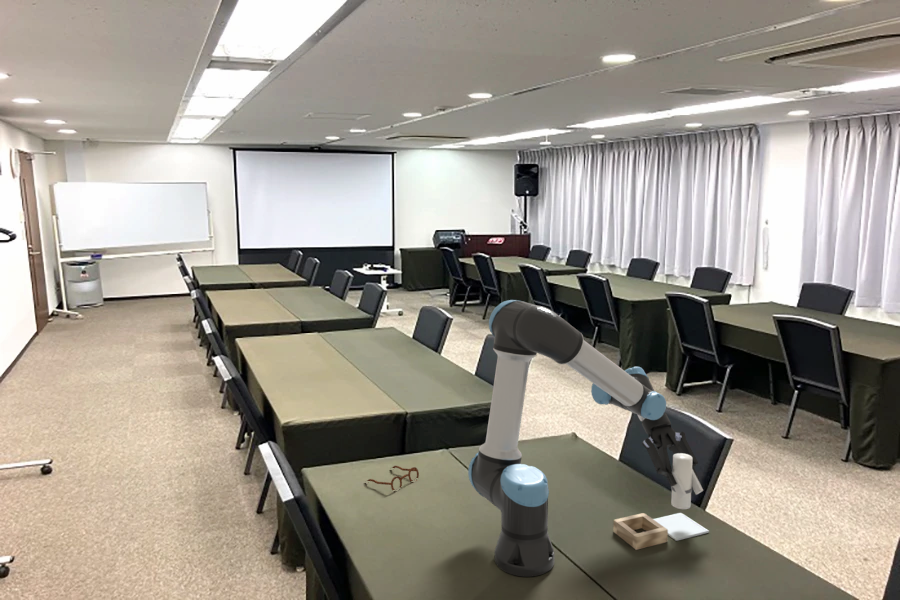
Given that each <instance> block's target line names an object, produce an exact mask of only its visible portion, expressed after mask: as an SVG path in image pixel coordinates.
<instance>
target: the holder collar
mask: <svg viewBox="0 0 900 600" xmlns="http://www.w3.org/2000/svg"><path fill="white" fill-rule="evenodd" d="M653 519H654V518H652V517H651V516H649V515H647V513H644V512H642V513H638V514H633V515H629V516H628V515H627V516H625V517H624V516H623V517H620V518H619V517H618V518H616V519H613V524H612V525H613V526H612V527H613V530H612V531H613V533H614V534H615V535H617V536H618V537H619V538H621V539H622V540H623V541H624V542H626V543H627V544H628V545H629V546H631V547H632V548H633V549H635V550H636V551H637V550H640V549H641V550H642V549H644V548H649V547H653V546H657V545H662V544H665V543H667V542H668V538H669V535H668V529H666V528H665V527H663V526H662V525H660V524H659V523H658V522H656V521H655V520H653ZM640 529H643V530H644V531H642V532H637V531H635V530H640Z"/></svg>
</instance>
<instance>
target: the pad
mask: <svg viewBox="0 0 900 600" xmlns="http://www.w3.org/2000/svg"><path fill="white" fill-rule="evenodd" d="M652 519H653V520H655V521H656V522H658V523H659V524H660V525H662V526H663V527H665V528H666V529H668V537H670V538H671V539H673V540H674V541H677V542H678V541H681V540H684V539H690V538H694V537H696V536H697V537H698V536H701V535H704V534H708V533H709V532H710V530H708V529H707V528H705V527H704V526H702V525H701V524H699V523H698V522H696V521H694V520H693V519H692V518H690V517H688V516H687V515H686V514H684V513H682V512H677V513H673V514H670V515H664V516H661V517H657V518H652Z"/></svg>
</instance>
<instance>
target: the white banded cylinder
mask: <svg viewBox="0 0 900 600" xmlns="http://www.w3.org/2000/svg"><path fill="white" fill-rule="evenodd" d="M672 472H676V474H677V476H678V478H679V480H680V482H681V484H682V486H683V488H684V490H685V492H686V495H685V496H683V497H682V498H679V497H678V495H677V493H676V491H675V489H674V487H673V486H671V485H670V489H671V501H670V502H671V503H670V504H671V506H672V507H673V508H675V509H679V510H687V509H690V508H691V507H692V506H691V503H692V502H691V501H692V492H693V488H692V486H691V483H692V456H690V455H688V454H683V453H677V454H674V453H673V455H672Z"/></svg>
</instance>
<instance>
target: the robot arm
mask: <svg viewBox="0 0 900 600" xmlns="http://www.w3.org/2000/svg"><path fill="white" fill-rule="evenodd" d="M488 327H489V328H488V329H489V331H490V333H491V335H492V336H493V338H494V340H493V346H492V347H493V348H492V349H493V351H494V353H495V354H496V355H497V360H496V365H495V373H494V374H495V375H494V382H493V387H492V393H491V394H492V396H491V401H490V410H489V416H488V421H487V422H488V424H487V430H486V437H485V442H484V443H482V444H481V445H479V448H478V452H477V453H475V456H474V457H472V458H471V459H470V462H469V464H468V465H469V466H468V469H467V470H468V478H469V479H468V480H469V482H470V484H471V486H472V487H473V488H474V489H475V491H476V492H477V493H478V494H479V495H480V496H482V497H483V498H485V499H486V500H487V501H489V503H491V504H492V505H493V506H495V508H497V509H498V510H500V513H501V518H500V519H501V521H500V523H501V524H500V525H501V531H500V534H499V537H498V540H497V543H496V545H495V548H494V562H495V564H496V566H497V567H498V568H499V569H500V570H502V571H503V572H505V573H507V574H509V575H512V576H517V577H526V578H528V577H529V578H530V577H538V576H540V575H544V574H546V573H548V572H549V571H550V570H552V569H553V568H554V565H555V551H554V550H555V549H554V547H553V544H552V541H551V538H550V535H549V532H548V531H549V530H548V527H549V525H548V524H549V494H550V493H549V492H550V491H549V484H548V478H547V476H546V475H545V473H544V472H543V471H542V470H541V469H539V468H537V467H535V466H534V465H527V464H526V463H525V464H524V463H522V457H523V454H522V452H521V451H520V450H519V447H518V446H519V445H518V444H519V440H520V431H521V424H522V418H523V410H524V404H525V403H524V402H525V397H526V390H527V382H528V377H529V376H528V375H529V370H530V362H531V360H532V359H534V358H535V357H536V356H537V355H542V356H544V357H547V358H548V359H551V360H553V361H554V362H556V363H557V364H559V365H566V366H568V367H569V368H571V369H572V370H574V371H576V372H577V374H579V375H581V376H583V378H585V379H586V380H588V381H589V382H590V383H592V385H591V390H590V393H591V397H592V399H593V401H594V402H595V403H596V404H598V405H605V406H607V405H613V406H615V407H617V408H620V409H623V410H625V411H628V412H630V413H633V414H635V415H637V417H638V419H639V421H640V422H641V426H642V427H643V429H644V432H645V433H646V435H647V437H648V438H645V439H644V440H643V441H642V442H641V445H642V446H643V447H644V448H645V449H646V450H647V453H648V455H649V458H650V460H651V462H652V464H653V466H654V468H655V470H656V473H657V474H658V475H662V477H664V478H666V479H667V480H668V483H669V485H670V487H671V486H673V487H674V489H675V491H676V493H677V495H678V497H679V498H682V497H683V496H685V495H686V492H685V490H684V488H683V486H682V484H681V482H680V480H679V478H678V476H677V474H676V472H673V468H672V464H671V462H670V457H669V454H668V450H669V451H670V452H672V453H673V455H674V454H677V453H683V454H688V455H690V456H692V483H691V486H692V491H693V492H694V494H695V495H699V494H700V493H702V492H703V491H704V489H703V487H702V485H701V482H700V481H699V479H700V478H699V475H698V473H697V472H696V469H695V467H696V466H697V465H698V464H699V461H698V459H697V458H696V455H695V453H694V452H693V450H692V448H691V446H690V445H689V442H688V440H687V438H686V437H687V436H686V434H685V432H684V431H681V432H676V431H675V430H674V428H672V423H671V421H670V419H669V417H668V414H667V413H666V409H667V400H666V398H665V396H664V395H663V394H661V393H659V392H658V391H656V390H655V389H654V388H653V385H652V383H651V380H650V378H649V376H647V375H648V374H646V372H645V370H644V369H643V368H642V367H640V366H633V367H629V368H627V369H625V370H624V369H623V368H621V367H620V366H619V365H617V364H616V363H615V362H614V361H612V360H611V359H610V358H608V357H607V356H605V354H603V353H601V352H600V351H599V350H597V348H595V347H594V346H592V345H591V344H589V342H587V341H586V340H584V335H583V334H582V332H580V331H579V330H578V329H576V328H575V327H574V326H572V325H571V324H570V323H569V322H568V321H567V320H565V319H564V318H562V317H561V316H560V315H558V313H556V312H554V311H553V310H551V309H550V308H548V307H545V306H541V305H538V304H537V305H536V304H533V303H530V302H526V301H522V300H517V299H510V300H509V299H508V300H505V301H502V302H501V303H499V304H498V305H497V306H495V307H494V309H493V310H492V312H491V313H490V316H489V320H488Z"/></svg>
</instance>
